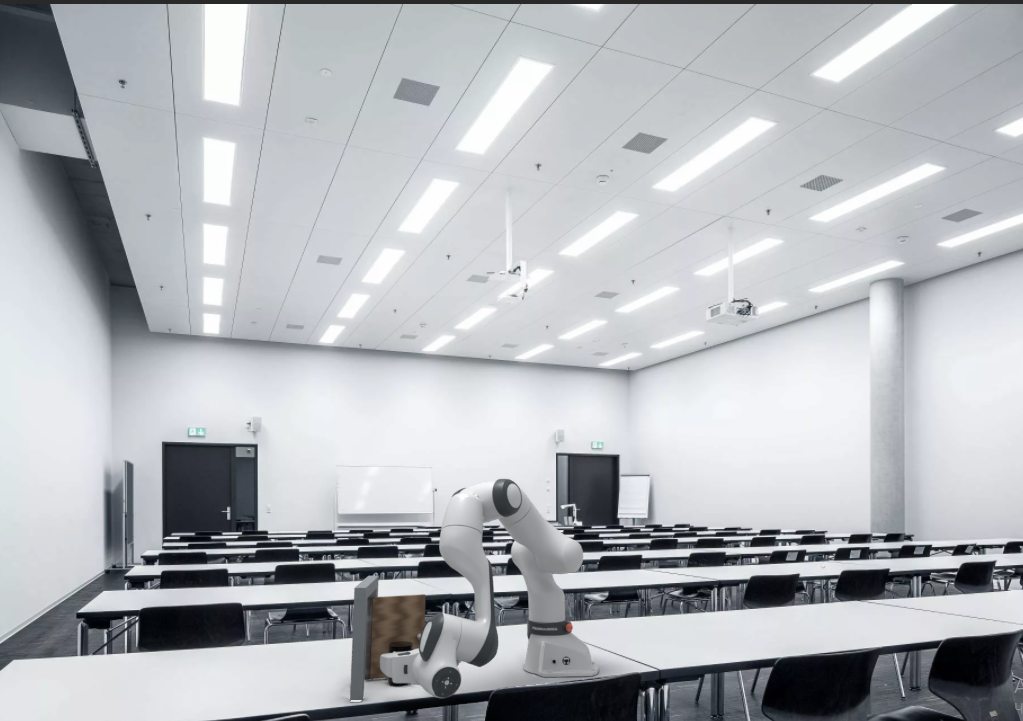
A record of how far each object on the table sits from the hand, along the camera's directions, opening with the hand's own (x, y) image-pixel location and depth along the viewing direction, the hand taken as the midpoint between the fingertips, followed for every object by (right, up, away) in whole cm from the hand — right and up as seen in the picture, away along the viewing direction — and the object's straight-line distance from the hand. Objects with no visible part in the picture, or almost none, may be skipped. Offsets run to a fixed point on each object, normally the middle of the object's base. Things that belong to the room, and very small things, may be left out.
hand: (412, 652), depth 183 cm
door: (-7, -12, +12) cm, 19 cm away
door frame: (-14, -11, +3) cm, 18 cm away
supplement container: (-5, -12, +8) cm, 15 cm away
